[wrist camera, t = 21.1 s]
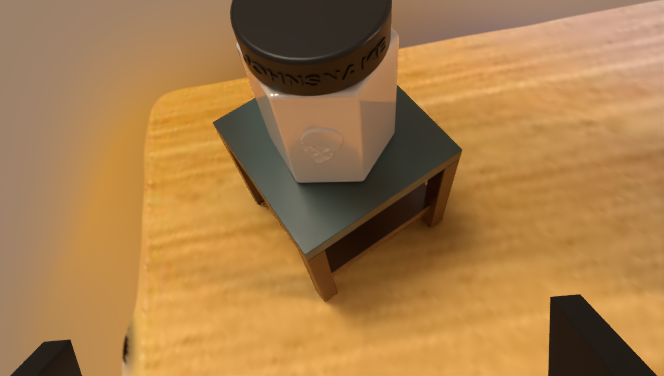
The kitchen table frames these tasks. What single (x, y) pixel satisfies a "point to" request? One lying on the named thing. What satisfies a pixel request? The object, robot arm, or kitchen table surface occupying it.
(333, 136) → the jar
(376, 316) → the kitchen table surface
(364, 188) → the stand
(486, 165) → the kitchen table surface
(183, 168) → the kitchen table surface
